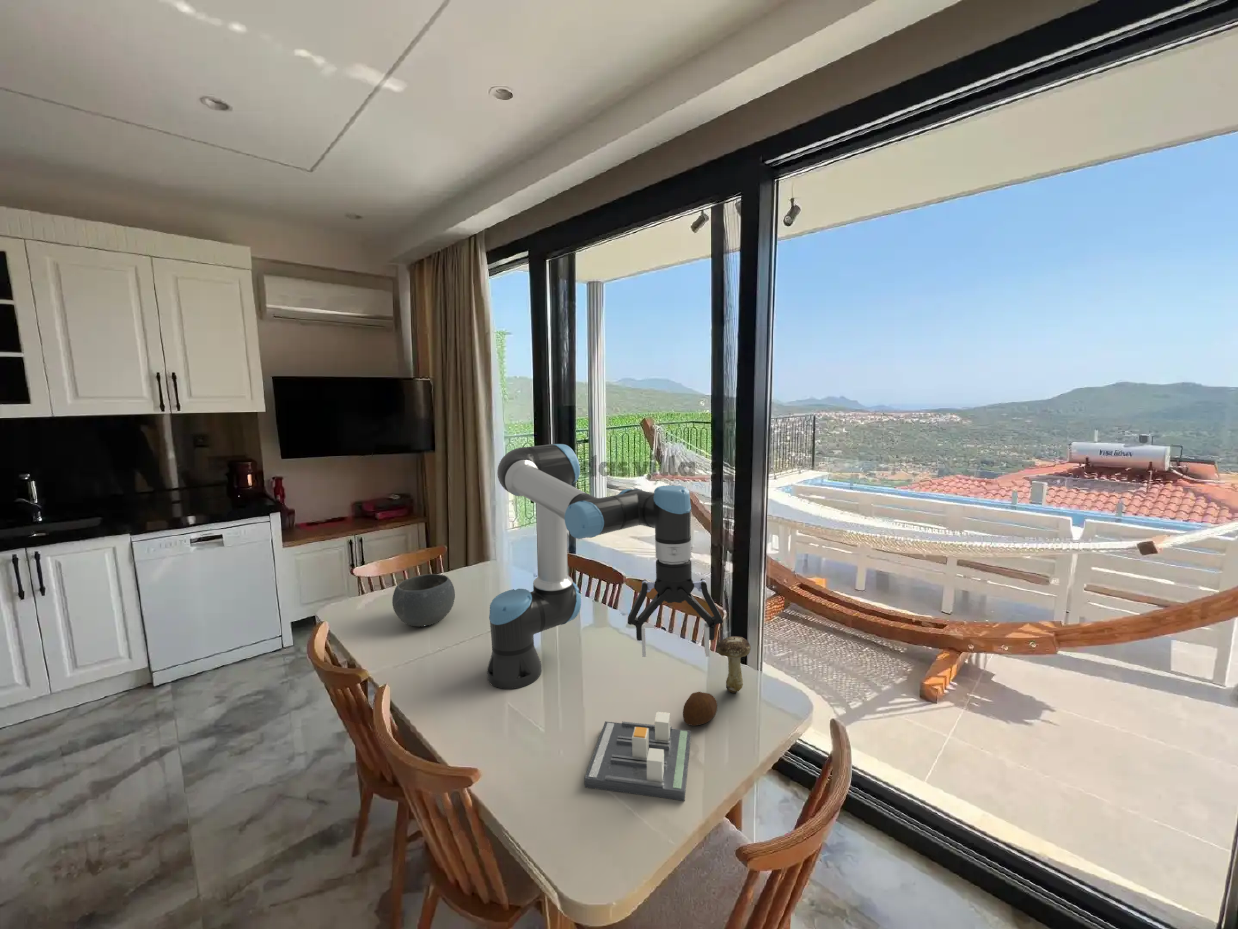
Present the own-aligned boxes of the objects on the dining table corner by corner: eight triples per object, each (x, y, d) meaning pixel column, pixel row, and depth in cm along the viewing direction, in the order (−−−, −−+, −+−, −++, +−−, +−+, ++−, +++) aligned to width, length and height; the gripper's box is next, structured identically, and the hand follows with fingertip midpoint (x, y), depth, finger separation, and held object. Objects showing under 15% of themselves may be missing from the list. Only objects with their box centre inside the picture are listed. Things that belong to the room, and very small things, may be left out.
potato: (725, 716, 123) (725, 689, 122) (700, 737, 115) (700, 709, 114) (701, 704, 128) (701, 678, 127) (676, 724, 120) (676, 697, 119)
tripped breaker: (632, 757, 107) (631, 736, 106) (635, 745, 110) (634, 725, 109) (646, 758, 106) (646, 737, 105) (649, 747, 109) (648, 727, 109)
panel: (584, 787, 102) (584, 775, 101) (605, 729, 119) (605, 719, 119) (684, 801, 98) (684, 788, 97) (690, 738, 115) (690, 728, 115)
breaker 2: (647, 780, 100) (646, 760, 99) (649, 768, 103) (649, 748, 103) (662, 782, 99) (661, 762, 99) (664, 769, 103) (663, 749, 102)
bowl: (469, 617, 182) (466, 577, 180) (419, 641, 165) (416, 597, 163) (432, 605, 193) (429, 568, 191) (383, 627, 176) (379, 586, 174)
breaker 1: (655, 740, 112) (654, 721, 111) (657, 729, 115) (656, 711, 114) (668, 741, 111) (668, 723, 110) (670, 731, 114) (670, 713, 114)
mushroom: (730, 706, 126) (730, 650, 124) (709, 689, 134) (709, 635, 132) (759, 695, 131) (760, 640, 129) (737, 679, 138) (737, 627, 136)
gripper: (613, 565, 104) (617, 662, 107) (736, 564, 102) (736, 662, 105) (615, 554, 111) (619, 645, 114) (730, 552, 110) (730, 644, 113)
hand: (675, 653), depth 110 cm, fingers open, 13 cm apart
